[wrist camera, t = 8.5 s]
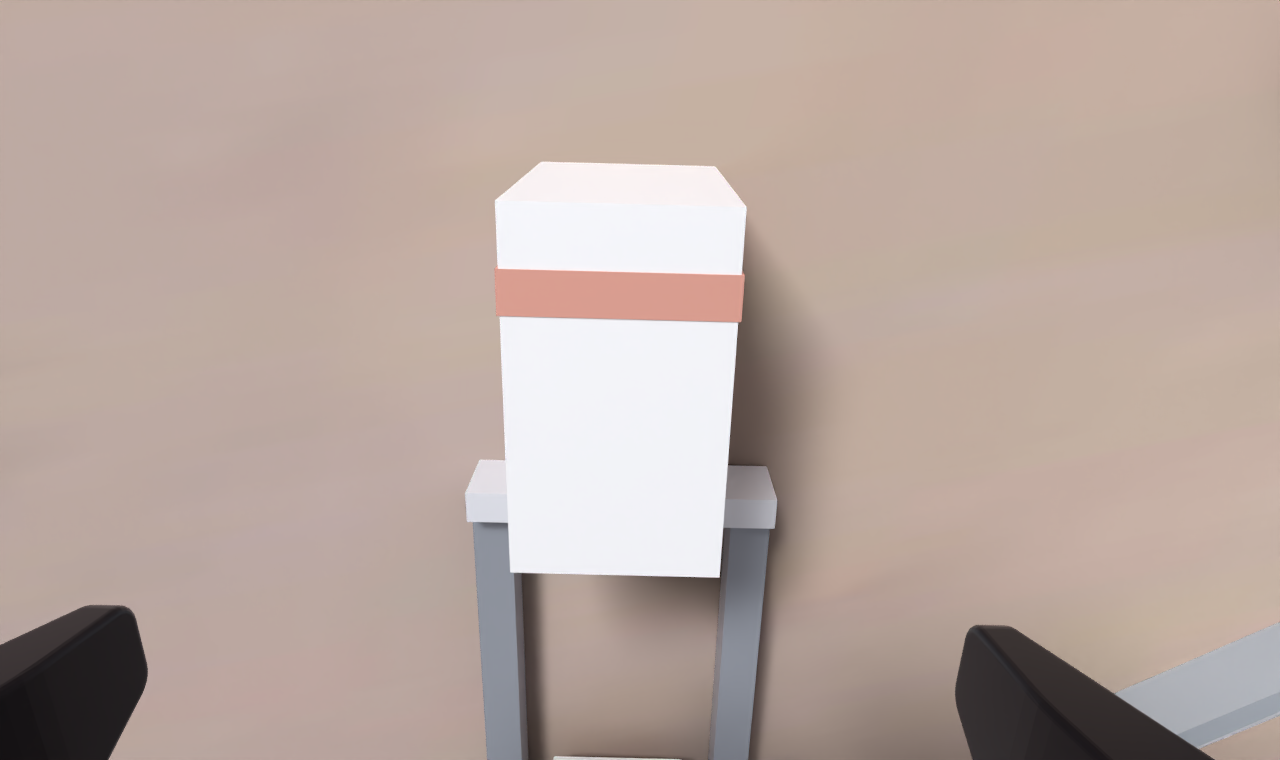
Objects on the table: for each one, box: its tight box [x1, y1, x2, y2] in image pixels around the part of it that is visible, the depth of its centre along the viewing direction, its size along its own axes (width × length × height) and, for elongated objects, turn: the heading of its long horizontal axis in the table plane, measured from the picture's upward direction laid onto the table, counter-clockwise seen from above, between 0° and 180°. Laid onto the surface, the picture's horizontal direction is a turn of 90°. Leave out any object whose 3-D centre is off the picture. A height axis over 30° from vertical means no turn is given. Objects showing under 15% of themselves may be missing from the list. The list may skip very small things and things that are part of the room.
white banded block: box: [495, 162, 747, 578], centre depth 17 cm, size 7×4×6 cm, turn 179°
